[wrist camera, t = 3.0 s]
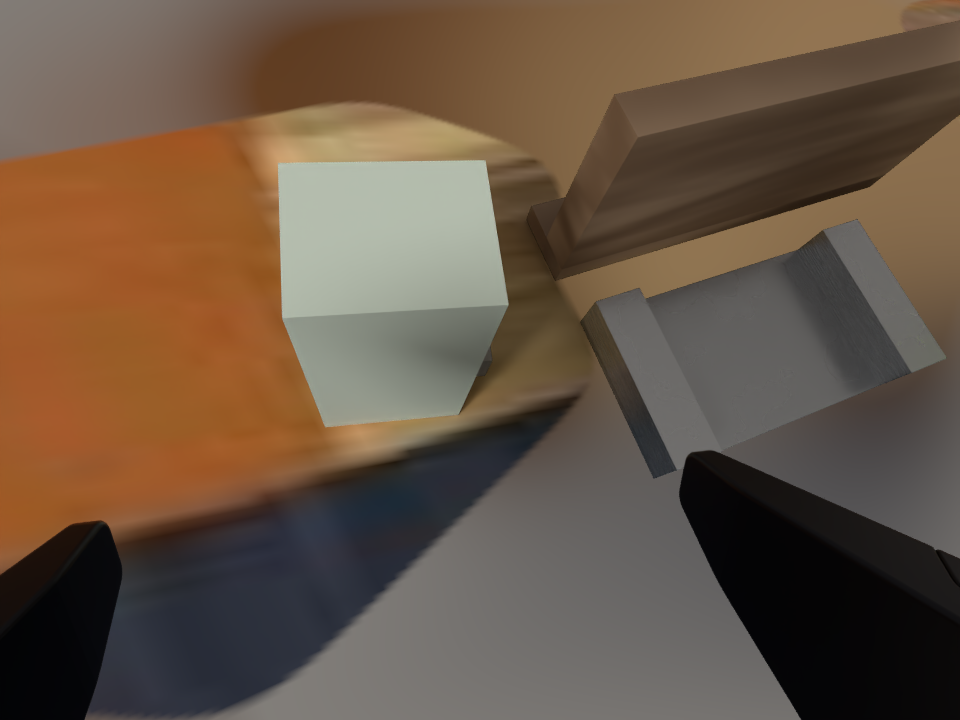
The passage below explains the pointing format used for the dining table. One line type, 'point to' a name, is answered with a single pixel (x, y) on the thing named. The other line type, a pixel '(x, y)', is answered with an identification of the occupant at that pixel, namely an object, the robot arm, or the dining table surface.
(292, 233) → the sage green block
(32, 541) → the dining table surface
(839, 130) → the wall board
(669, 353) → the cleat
